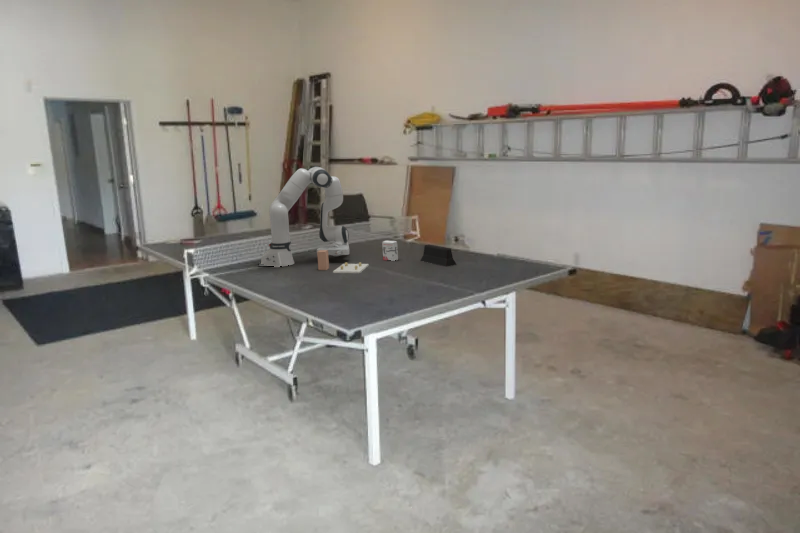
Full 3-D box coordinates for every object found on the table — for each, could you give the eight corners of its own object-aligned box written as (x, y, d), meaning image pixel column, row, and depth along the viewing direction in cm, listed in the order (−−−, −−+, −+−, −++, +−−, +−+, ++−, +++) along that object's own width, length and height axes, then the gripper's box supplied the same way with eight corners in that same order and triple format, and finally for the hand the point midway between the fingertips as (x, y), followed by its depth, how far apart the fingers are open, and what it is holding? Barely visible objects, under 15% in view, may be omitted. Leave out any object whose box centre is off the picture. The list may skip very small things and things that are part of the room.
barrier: (456, 264, 337) (456, 248, 335) (445, 267, 332) (445, 250, 329) (430, 259, 355) (430, 243, 353) (419, 261, 350) (419, 245, 348)
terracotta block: (318, 270, 336) (317, 251, 334) (321, 268, 341) (320, 250, 339) (326, 270, 335) (325, 251, 333) (329, 268, 340) (327, 250, 338)
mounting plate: (333, 273, 327) (332, 267, 326) (343, 265, 346) (343, 260, 345) (359, 273, 324) (359, 268, 323) (368, 265, 343) (368, 260, 342)
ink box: (382, 260, 356) (381, 241, 353) (386, 258, 360) (385, 240, 358) (394, 261, 352) (393, 242, 349) (398, 259, 356) (397, 241, 354)
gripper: (320, 244, 363) (312, 248, 349) (351, 244, 358) (344, 248, 345) (321, 254, 364) (313, 258, 351) (351, 254, 360) (345, 258, 347)
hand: (329, 253), depth 348 cm, fingers open, 8 cm apart
